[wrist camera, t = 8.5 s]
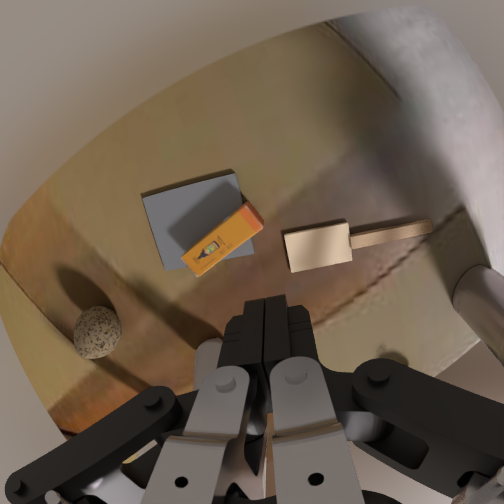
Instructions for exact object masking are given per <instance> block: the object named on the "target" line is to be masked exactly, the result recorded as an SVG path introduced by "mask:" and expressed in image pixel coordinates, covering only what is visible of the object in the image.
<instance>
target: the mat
mask: <svg viewBox="0 0 504 504" xmlns="http://www.w3.org/2000/svg"><path fill="white" fill-rule="evenodd" d="M142 199H143V202H144V205H145V209H146V212H147V216H148V219H149V222H150V225H151V228H152V232H153V235H154V238H155V241H156V244H157V247H158V250H159V253H160V256H161V259H162V262H163V265H164V267H165V270H166V271H168V270H173V269H178V268H183V267H188V266H187V264H186V263H184V262H183V261H182V259H181V256H182V255H183V254H184V253H185V252H186V251H187V250H188V249H189V248H191V247H192V246H193V245H194V244H195V243H196V242H198V241H199V240H200V239H201V238H202V237H204V236H205V235H206V234H207V233H208V232H210V231H211V230H212V229H213V228H214V227H216V226H217V225H218V224H219V223H221V222H222V221H223V220H224V219H225V218H227V217H228V216H229V215H230V214H232V213H233V212H234V211H235V210H237V209H238V208H239V207H240V206H242V205H243V201H242V197H241V193H240V189H239V185H238V181H237V177H236V173H233V174H229V175H225V176H221V177H217V178H213V179H209V180H205V181H201V182H197V183H193V184H189V185H186V186H182V187H178V188H175V189H171V190H168V191H164V192H161V193H158V194H154V195H151V196H148V197H144V198H142ZM254 253H255V251H254V247H253V243H252V239H251V238H249V239H248V240H247V241H245V242H244V243H243V244H241V245H240V246H239V247H237V248H236V249H235V250H233V251H232V252H231V253H229V254H228V255H227V256H225V257H224V258H223V259H221V260H224V259H229V258H235V257H240V256H245V255H250V254H254Z"/></svg>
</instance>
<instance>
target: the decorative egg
mask: <svg viewBox="0 0 504 504" xmlns="http://www.w3.org/2000/svg"><path fill="white" fill-rule="evenodd" d="M121 333H122V327H121V323H120V320H119V318H118V316H117V315H116V314H115V312H113V311H112V310H111V309H109V308H107V307H104V306H95V307H91V308H89V309H87V310H86V311H84V312H83V313H82V314H81V315H80V317H79V318H78V320H77V322H76V325H75V329H74V345H75V348H76V350H77V352H78V354H79V355H80V356H81V357H83V358H87V359H96V358H100V357H103V356H106V355H107V354H109V353H110V352H112V351H113V350H114V349H115V348H116V346H117V345H118V343H119V341H120V338H121Z"/></svg>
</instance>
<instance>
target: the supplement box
mask: <svg viewBox="0 0 504 504" xmlns="http://www.w3.org/2000/svg"><path fill="white" fill-rule="evenodd" d="M263 227H264V220H263V219H262V217H261V216H260V215H259V214H258V212H257V211H256V210H255V209H254V207H253V206H252V205H251V204H250V202H249V201H247V202H246V203H244V204H243V205H242V206H240V207H239V208H238V209H237V210H235V211H234V212H233V213H232V214H230V215H229V216H228V217H227V218H225V219H224V220H223V221H222V222H221V223H219V224H218V225H217V226H216V227H214V228H213V229H212V230H211V231H210V232H208V233H207V234H206V235H205V236H204V237H202V238H201V239H200V240H199V241H198V242H196V243H195V244H194V245H193V246H192V247H191V248H189V249H188V250H187V251H186V252H185V253H184V254H183V255H182V256H181V259H182V261H183V262H184V263H186V264H187V266H188V267H189V268H190V269H191V270H192V271H193V272H194V274H195V275H196V276H197V277H198V276H201V275H202V274H203V273H205V272H206V271H207V270H209V269H210V268H211V267H212V266H214V265H215V264H216V263H218V262H219V261H220V260H221V259H223V258H224V257H225V256H227V255H228V254H229V253H231V252H232V251H233V250H235V249H236V248H237V247H239V246H240V245H241V244H243V243H244V242H245V241H247V240H248V239H249V238H251V237H252V236H253V235H255V234H256V233H257V232H259V231H260V230H262V229H263Z"/></svg>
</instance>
